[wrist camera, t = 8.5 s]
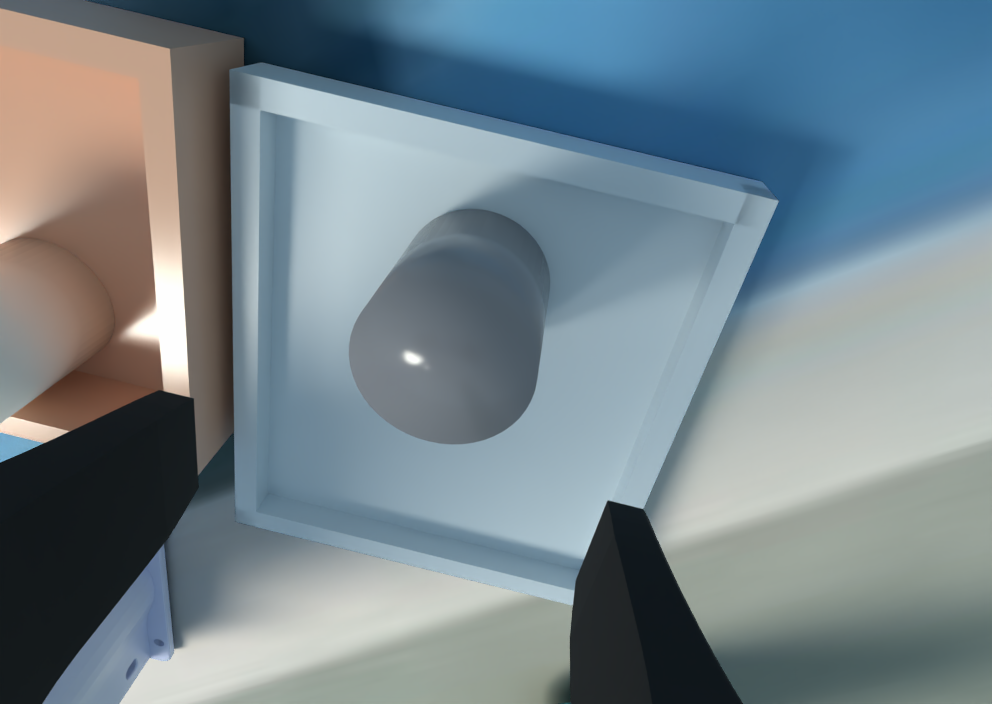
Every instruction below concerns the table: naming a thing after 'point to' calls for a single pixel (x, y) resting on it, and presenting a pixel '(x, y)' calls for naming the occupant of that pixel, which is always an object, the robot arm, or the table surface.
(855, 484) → the table surface
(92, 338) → the pale grey cylinder
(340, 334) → the parts tray
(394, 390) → the grey plastic cylinder
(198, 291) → the terracotta dish
